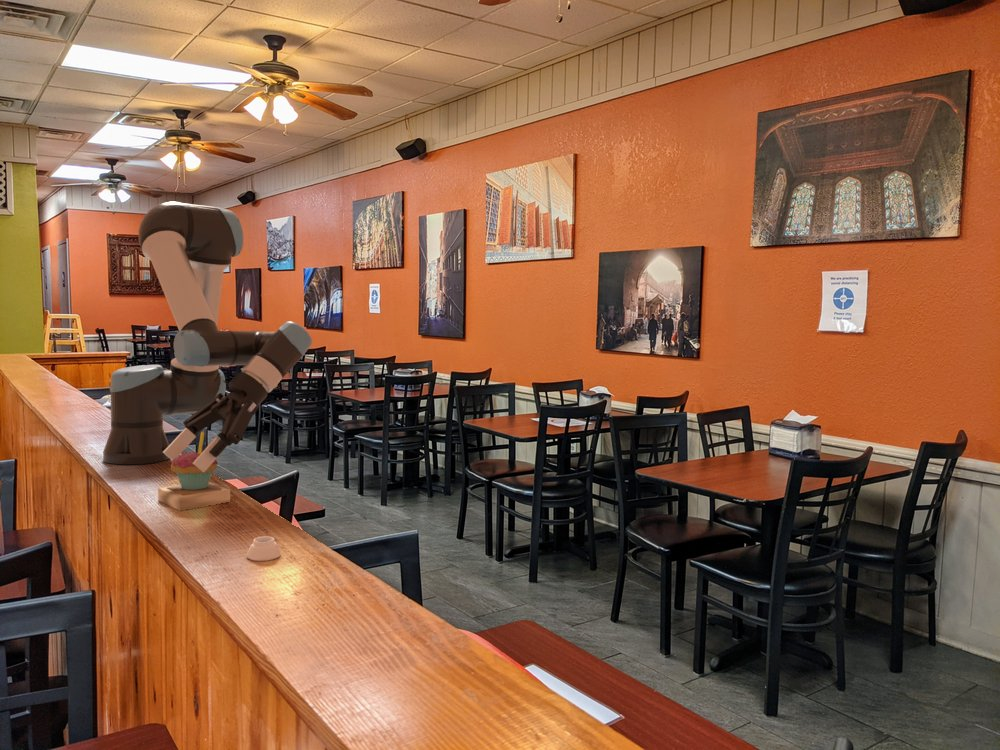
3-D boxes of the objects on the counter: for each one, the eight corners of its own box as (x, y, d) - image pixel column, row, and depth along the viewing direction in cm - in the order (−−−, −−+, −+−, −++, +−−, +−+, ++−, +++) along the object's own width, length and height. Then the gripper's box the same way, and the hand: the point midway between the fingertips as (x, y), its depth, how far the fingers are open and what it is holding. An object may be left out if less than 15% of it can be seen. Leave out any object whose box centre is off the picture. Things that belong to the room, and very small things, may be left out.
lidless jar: (253, 551, 116) (242, 562, 111) (253, 533, 116) (242, 543, 111) (284, 553, 116) (274, 563, 111) (284, 535, 116) (274, 544, 111)
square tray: (158, 500, 144) (158, 487, 144) (207, 492, 151) (207, 480, 151) (179, 510, 137) (179, 496, 137) (230, 502, 144) (230, 488, 144)
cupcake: (224, 483, 148) (225, 425, 147) (203, 493, 140) (203, 432, 139) (184, 481, 149) (184, 423, 148) (161, 491, 141) (161, 430, 140)
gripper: (297, 400, 145) (225, 485, 136) (237, 389, 162) (169, 463, 153) (273, 375, 141) (197, 460, 131) (214, 366, 158) (143, 441, 148)
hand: (182, 462), depth 142 cm, fingers open, 13 cm apart
